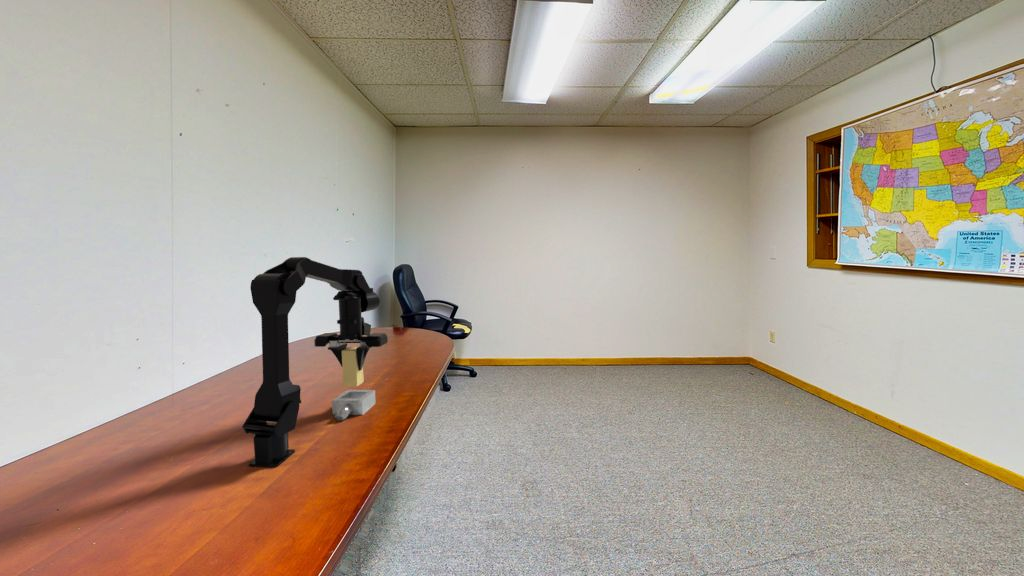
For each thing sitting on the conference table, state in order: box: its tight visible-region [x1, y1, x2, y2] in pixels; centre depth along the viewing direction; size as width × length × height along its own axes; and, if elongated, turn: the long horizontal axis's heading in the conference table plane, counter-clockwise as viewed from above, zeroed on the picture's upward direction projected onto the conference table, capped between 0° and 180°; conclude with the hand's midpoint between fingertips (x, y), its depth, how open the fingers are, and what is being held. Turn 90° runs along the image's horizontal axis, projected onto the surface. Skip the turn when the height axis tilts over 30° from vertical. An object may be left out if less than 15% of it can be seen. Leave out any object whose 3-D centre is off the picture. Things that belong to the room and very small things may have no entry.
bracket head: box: [331, 388, 377, 422], centre depth 114 cm, size 16×8×4 cm, turn 176°
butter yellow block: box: [341, 346, 365, 387], centre depth 113 cm, size 4×4×10 cm
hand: (352, 370), depth 113 cm, fingers closed on butter yellow block, 4 cm apart
